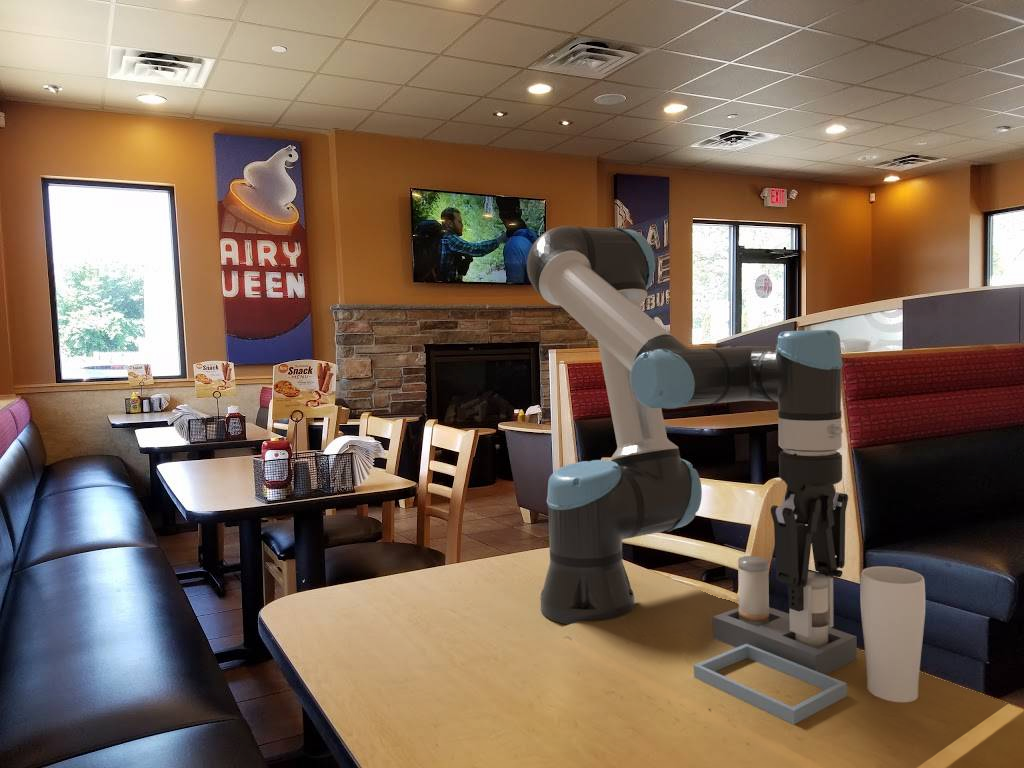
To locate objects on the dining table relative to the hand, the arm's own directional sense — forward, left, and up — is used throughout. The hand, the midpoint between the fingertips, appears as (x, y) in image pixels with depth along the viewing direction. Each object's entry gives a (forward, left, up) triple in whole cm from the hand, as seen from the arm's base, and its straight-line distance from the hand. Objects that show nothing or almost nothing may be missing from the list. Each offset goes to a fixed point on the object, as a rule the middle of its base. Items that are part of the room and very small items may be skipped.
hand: (811, 628), depth 95 cm
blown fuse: (0, 0, -4) cm, 4 cm away
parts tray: (+1, -10, -5) cm, 12 cm away
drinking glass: (+11, 0, -5) cm, 12 cm away
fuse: (-9, 0, -4) cm, 10 cm away
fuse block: (-5, 0, -5) cm, 7 cm away
